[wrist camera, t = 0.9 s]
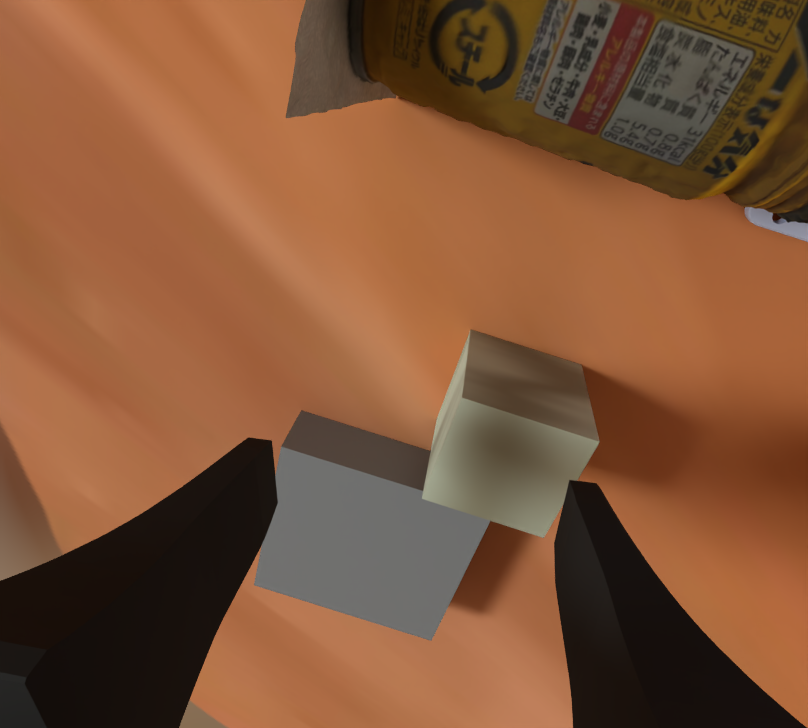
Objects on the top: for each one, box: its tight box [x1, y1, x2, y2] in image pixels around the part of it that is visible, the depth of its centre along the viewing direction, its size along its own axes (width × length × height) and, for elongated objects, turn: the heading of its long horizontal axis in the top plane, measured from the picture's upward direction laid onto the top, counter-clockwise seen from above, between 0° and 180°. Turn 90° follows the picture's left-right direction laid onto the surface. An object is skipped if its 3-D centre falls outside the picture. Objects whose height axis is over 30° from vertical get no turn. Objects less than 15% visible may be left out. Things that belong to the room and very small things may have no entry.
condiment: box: [286, 0, 808, 223], centre depth 12 cm, size 7×8×12 cm
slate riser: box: [254, 410, 490, 640], centre depth 26 cm, size 9×9×3 cm
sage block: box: [422, 330, 600, 538], centre depth 21 cm, size 4×4×5 cm
